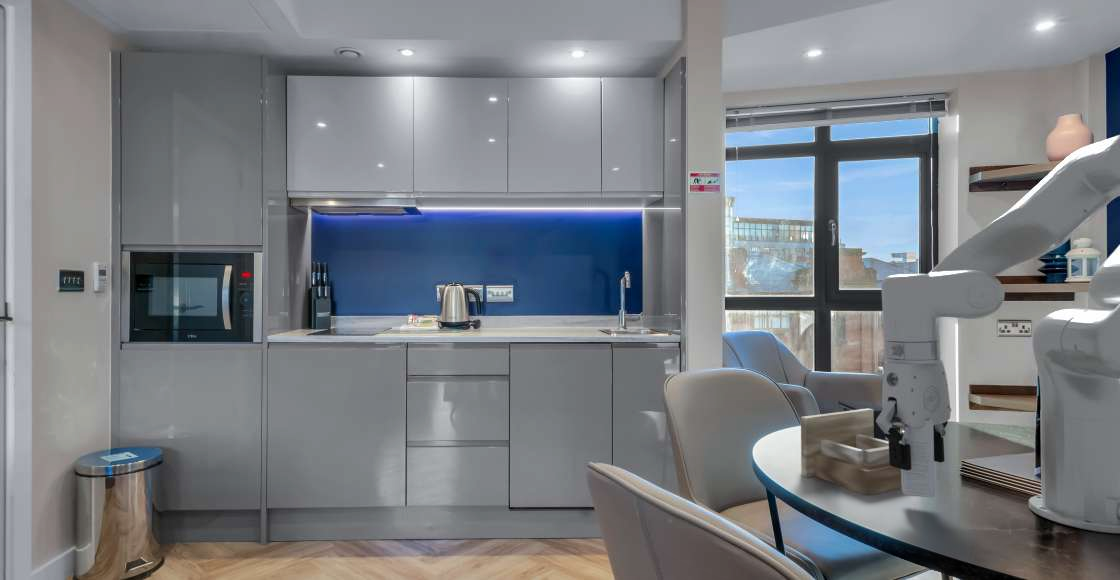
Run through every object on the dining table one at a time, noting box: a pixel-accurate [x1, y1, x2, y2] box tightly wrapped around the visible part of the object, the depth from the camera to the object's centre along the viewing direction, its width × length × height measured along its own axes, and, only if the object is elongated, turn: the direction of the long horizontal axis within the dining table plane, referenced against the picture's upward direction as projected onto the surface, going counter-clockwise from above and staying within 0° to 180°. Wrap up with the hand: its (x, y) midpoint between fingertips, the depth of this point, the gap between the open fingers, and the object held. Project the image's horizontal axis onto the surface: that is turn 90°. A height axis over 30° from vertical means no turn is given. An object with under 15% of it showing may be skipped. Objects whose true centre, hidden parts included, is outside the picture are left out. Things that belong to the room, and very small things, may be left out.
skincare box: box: [900, 419, 936, 498], centre depth 90 cm, size 6×4×12 cm
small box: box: [838, 400, 889, 442], centre depth 120 cm, size 11×6×10 cm, turn 179°
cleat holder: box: [800, 408, 902, 496], centre depth 105 cm, size 14×18×11 cm
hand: (917, 463), depth 90 cm, fingers closed on skincare box, 7 cm apart
